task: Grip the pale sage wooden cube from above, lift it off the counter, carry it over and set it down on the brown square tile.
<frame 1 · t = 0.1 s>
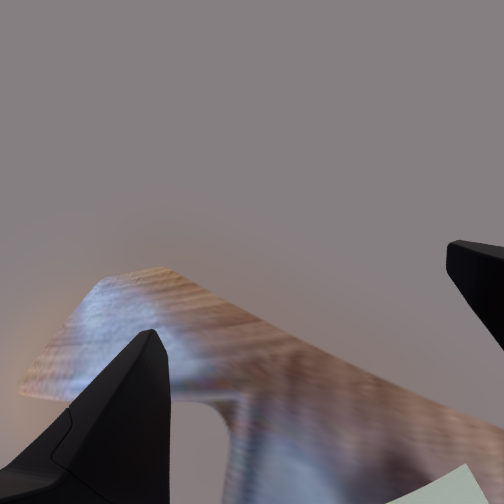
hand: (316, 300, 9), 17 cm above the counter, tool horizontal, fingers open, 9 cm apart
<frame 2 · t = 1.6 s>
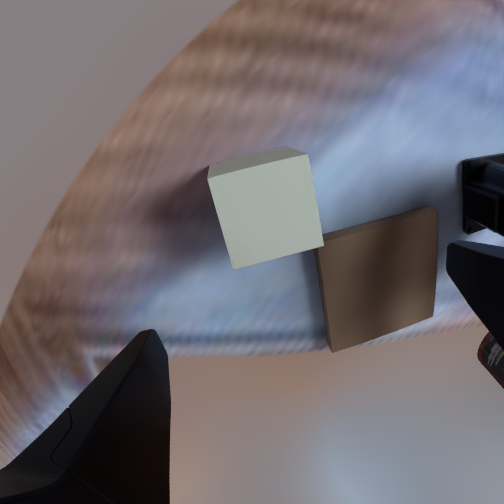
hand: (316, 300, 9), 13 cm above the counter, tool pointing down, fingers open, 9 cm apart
supplement bottle: (491, 339, 30), on the counter
cube: (257, 192, 21), on the counter
brown square tile: (379, 278, 24), on the counter
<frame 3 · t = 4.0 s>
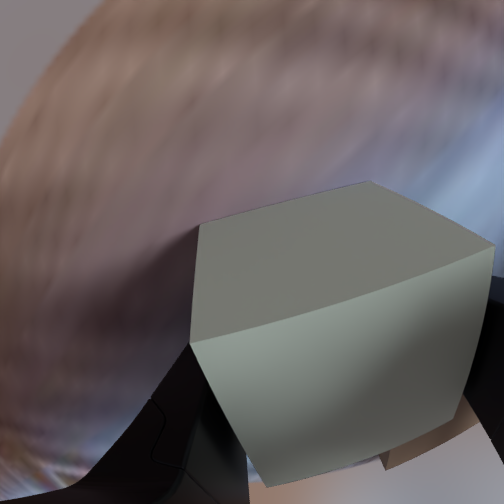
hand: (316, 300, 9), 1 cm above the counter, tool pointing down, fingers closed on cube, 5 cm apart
cube: (304, 278, 10), on the counter, touching gripper
brown square tile: (463, 376, 13), on the counter
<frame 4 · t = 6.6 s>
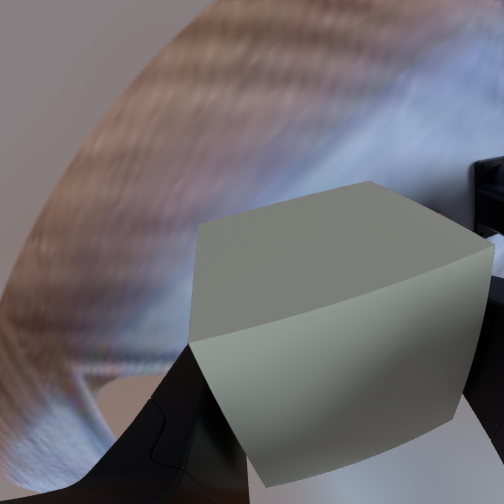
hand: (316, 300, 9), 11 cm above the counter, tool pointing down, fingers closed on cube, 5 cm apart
cube: (303, 278, 10), point 10 cm above the counter, touching gripper
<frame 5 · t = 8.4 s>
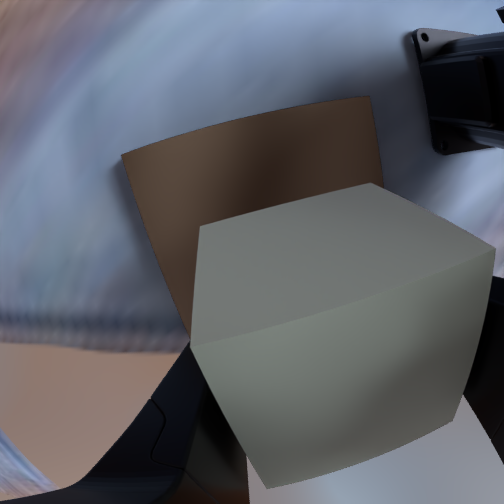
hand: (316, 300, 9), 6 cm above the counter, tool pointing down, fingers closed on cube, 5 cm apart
cube: (304, 280, 10), point 5 cm above the counter, touching gripper
brown square tile: (272, 229, 14), on the counter
when the fingers open (4 cm above the counter, at t = 9.6 s): cube drops 1 cm, resting on brown square tile.
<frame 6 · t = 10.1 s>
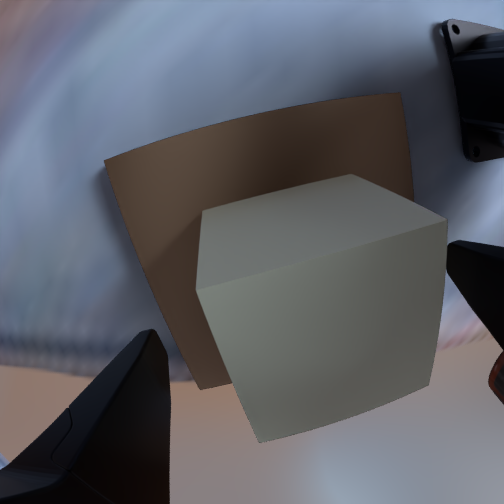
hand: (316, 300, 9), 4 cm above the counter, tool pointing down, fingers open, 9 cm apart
cube: (294, 260, 11), point 1 cm above the counter, touching brown square tile
brown square tile: (285, 247, 12), on the counter
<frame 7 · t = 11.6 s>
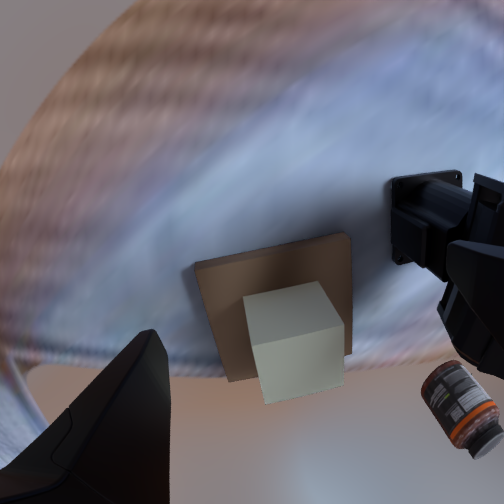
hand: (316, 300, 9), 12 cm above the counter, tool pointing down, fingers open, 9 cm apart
supplement bottle: (439, 376, 30), on the counter
cube: (285, 319, 22), point 1 cm above the counter, touching brown square tile
brown square tile: (281, 310, 23), on the counter
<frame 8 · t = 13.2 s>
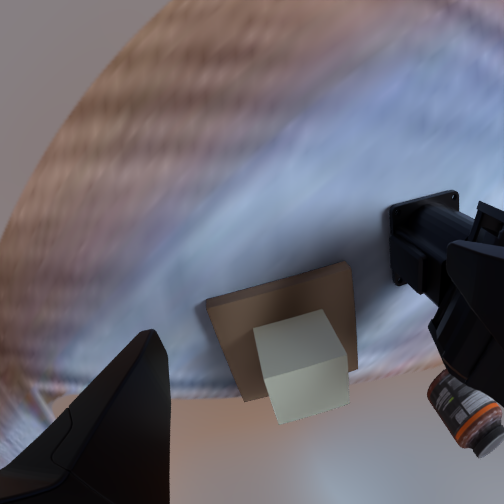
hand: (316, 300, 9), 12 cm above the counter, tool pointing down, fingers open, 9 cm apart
supplement bottle: (444, 379, 30), on the counter
cube: (293, 344, 23), point 1 cm above the counter, touching brown square tile
brown square tile: (289, 335, 24), on the counter
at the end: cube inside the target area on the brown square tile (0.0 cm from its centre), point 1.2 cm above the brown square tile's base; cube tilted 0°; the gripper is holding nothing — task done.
